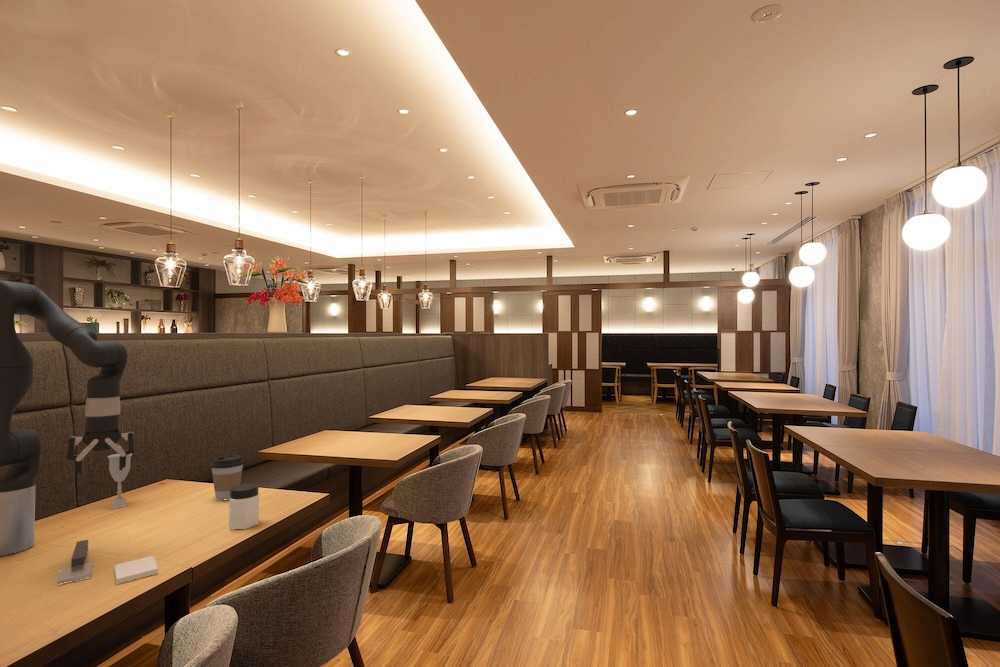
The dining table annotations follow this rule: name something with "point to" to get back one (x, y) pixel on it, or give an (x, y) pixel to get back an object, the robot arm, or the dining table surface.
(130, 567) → the tile
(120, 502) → the chalice
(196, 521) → the dining table surface
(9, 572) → the dining table surface
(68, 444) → the robot arm
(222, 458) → the coffee cup
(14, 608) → the dining table surface
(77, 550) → the turner
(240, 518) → the jar
